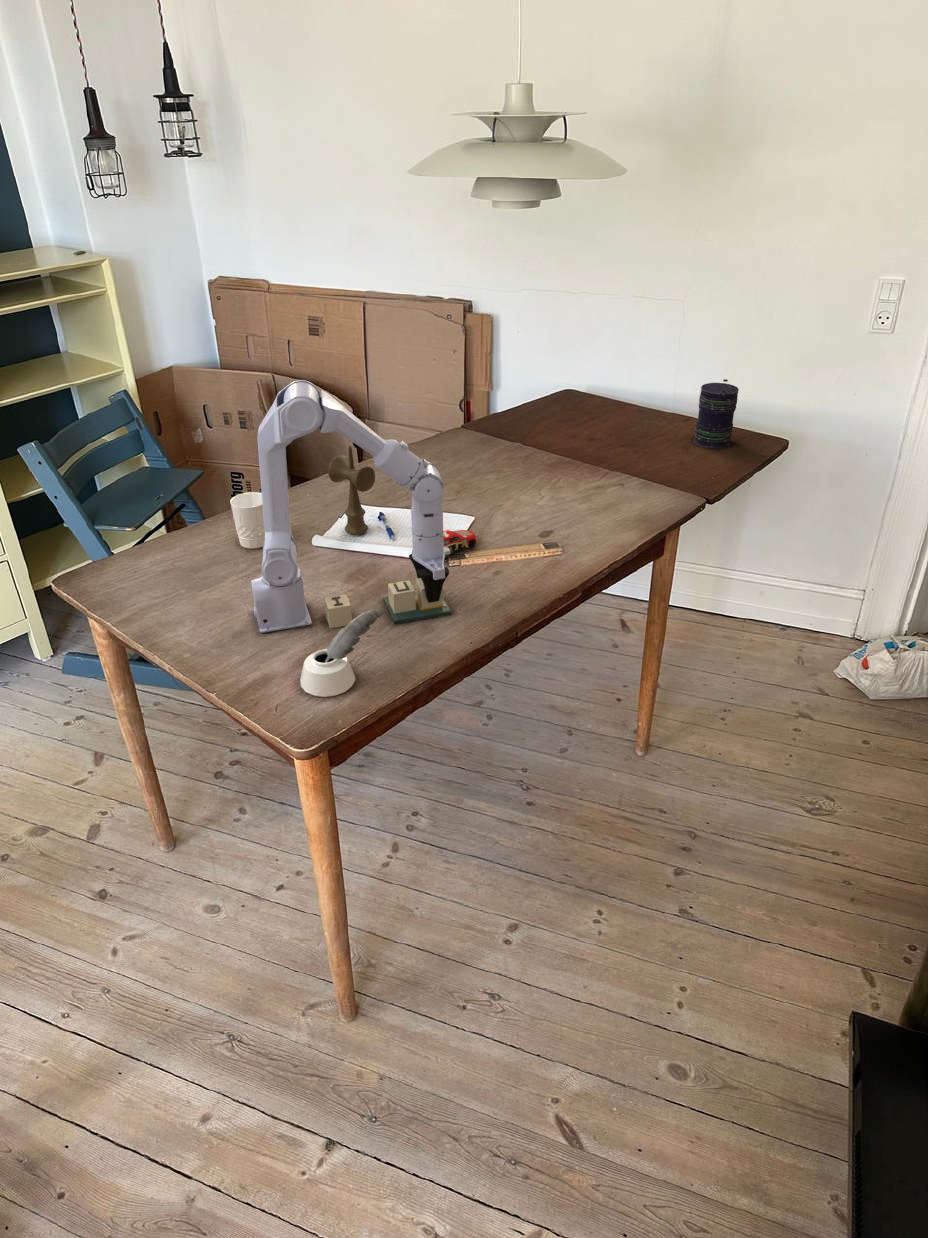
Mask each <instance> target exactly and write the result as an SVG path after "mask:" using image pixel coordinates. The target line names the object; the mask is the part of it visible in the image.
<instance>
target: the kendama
mask: <svg viewBox="0 0 928 1238" xmlns="http://www.w3.org/2000/svg"><path fill="white" fill-rule="evenodd" d="M347 451H348V452H347V453H348V457H347V456H346V455H342V454H340V455H337V456H335V457H333V458H332V459H331V461H330V462H329V464H328V467H327V474H328V477H329V479H330V481H331V482H333V483H342V482H343V481H346V480H347V481H349V489H348V490H349V494H348V504H347V508H346V509H345V510H344V515H345V516H346V519H347V522H346V525H345V527H344V531H345V532H346V533H348V534H349V535H355V536H356V535H362V534H364V533H366V532H367V531H368V530H369V527H368V525H367V523H366V522H365V514H366V510H365V509H364V508H363V507H362V504H361V501H360V496H359V493H358V492H360V493H361V492H362V493H364V492H368V491H369V490H371V489H372V488H373V486H374V484H375V481H376V473H375V470H374V468H373V467H372V466H369V465H364V466H360V467H359V468H357V467H355V463H354V454H353V447H352V446H351V445H348V450H347Z"/></svg>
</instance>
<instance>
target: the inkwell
mask: <svg viewBox="0 0 928 1238" xmlns="http://www.w3.org/2000/svg"><path fill="white" fill-rule="evenodd" d="M386 613H389V611H388V609H386V608H375V609H371V610H368V611H364V612H362V613H360V614H359V615H357V616H356V617H354V618H352V620H351V621H350V622H349V623H348V624H347V625H346V626H344V628H341V629H340V630H339V631H338V632H337V634H336V635H335V636H333V638H332V640H331V643H330V644H329V645H328V646H327V648H324V649H319V650H317V651H314V652H312V653H311V654H309V655H308V656H307V657H306V658H305V660H304V661H303V665H302V669H301V674H300V679H299V681H300V687H301V688H302V690H303V691H304V692H305V693H307V694H309V695H311V696H314V697H321V698H327V697H335V696H338V695H341V694H343V693H346V692H347V691H348V690H350V689H351V688H352V687H353V686H354V683H355V681H356V676H355V675H356V674H355V672H354V670H353V666H352V665H351V662H350V660H349V658H348V654H350V653H351V652H353V651H354V650H355V647H354V646H356V645H357V644H358V643H359V642H360V640H361V636H363V635H364V634H365V635H366V634H367V632H368V631H369V630H371V626H372V625H374V624H375V623H376V622H377V620H378V619H379V618H381V617H382V616H383V615H385V614H386Z"/></svg>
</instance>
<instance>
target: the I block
mask: <svg viewBox="0 0 928 1238" xmlns="http://www.w3.org/2000/svg"><path fill="white" fill-rule="evenodd" d="M323 601H324V610H325V619H326V621H327V625H328V626H329V629H335V628H341V627H345V626H346V625H347V624H348V623H349V622H350V621H351V620H353V615H352V605H351V603H350V600H349V598H348V595H347V594H341V595H340V594H339V595H334V596H329V597H324V598H323Z"/></svg>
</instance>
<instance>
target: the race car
mask: <svg viewBox="0 0 928 1238" xmlns="http://www.w3.org/2000/svg"><path fill="white" fill-rule="evenodd" d="M443 540H444V547H448V548H449V550H450V554H449V555H452V554H454V553H455V554H456V553H457V552H460V551H462V550H466V549H468V548H469V549H473V548H474V547H475V546H476V544H477V536H476V534H475V533H474V532H473V531H471V530H468V529H457V530H449V529H445V530H443ZM446 556H447V555H445V557H446Z"/></svg>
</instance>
